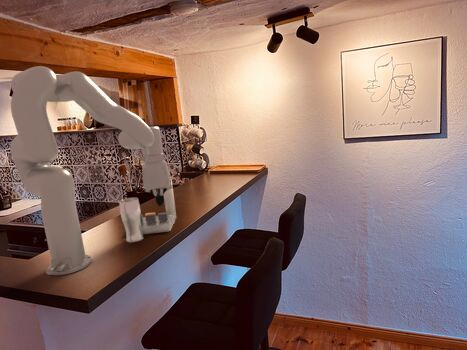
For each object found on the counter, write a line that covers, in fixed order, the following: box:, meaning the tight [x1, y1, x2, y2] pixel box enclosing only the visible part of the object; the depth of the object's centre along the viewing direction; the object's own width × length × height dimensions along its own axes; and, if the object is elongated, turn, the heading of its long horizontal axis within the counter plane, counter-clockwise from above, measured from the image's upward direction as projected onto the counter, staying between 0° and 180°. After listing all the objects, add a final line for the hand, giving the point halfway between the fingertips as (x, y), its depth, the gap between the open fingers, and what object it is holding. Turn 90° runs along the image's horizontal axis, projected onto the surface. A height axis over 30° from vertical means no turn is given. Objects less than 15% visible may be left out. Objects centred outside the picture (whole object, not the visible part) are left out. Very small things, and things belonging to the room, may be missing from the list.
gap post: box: [164, 179, 177, 220], centre depth 143 cm, size 4×4×18 cm
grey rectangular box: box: [157, 211, 169, 221], centre depth 134 cm, size 2×4×2 cm, turn 90°
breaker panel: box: [141, 215, 176, 235], centre depth 135 cm, size 12×16×3 cm
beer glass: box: [119, 197, 144, 243], centre depth 123 cm, size 7×7×15 cm
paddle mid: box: [144, 212, 157, 222], centre depth 134 cm, size 2×4×3 cm, turn 90°
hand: (160, 204), depth 134 cm, fingers closed
